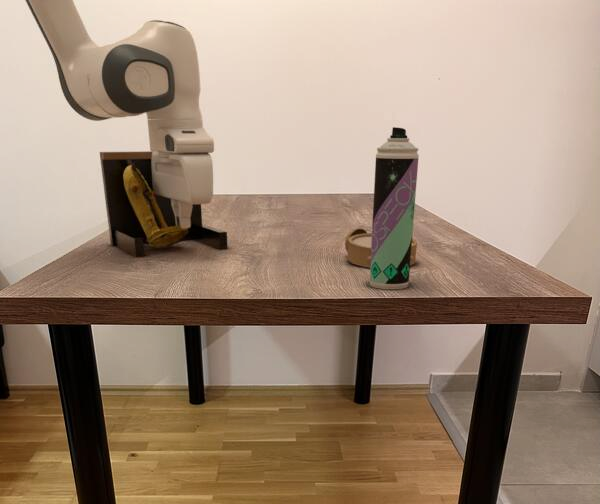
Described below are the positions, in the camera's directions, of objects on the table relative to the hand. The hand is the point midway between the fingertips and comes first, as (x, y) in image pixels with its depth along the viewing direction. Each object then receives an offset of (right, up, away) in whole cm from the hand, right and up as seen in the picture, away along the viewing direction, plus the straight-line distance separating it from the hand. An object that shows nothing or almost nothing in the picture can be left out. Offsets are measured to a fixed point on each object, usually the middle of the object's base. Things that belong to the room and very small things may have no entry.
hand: (183, 227), depth 110 cm
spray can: (+33, -15, -21) cm, 42 cm away
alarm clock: (+33, -7, -4) cm, 34 cm away
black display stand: (-4, -1, +7) cm, 8 cm away
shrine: (-5, -2, +5) cm, 8 cm away
